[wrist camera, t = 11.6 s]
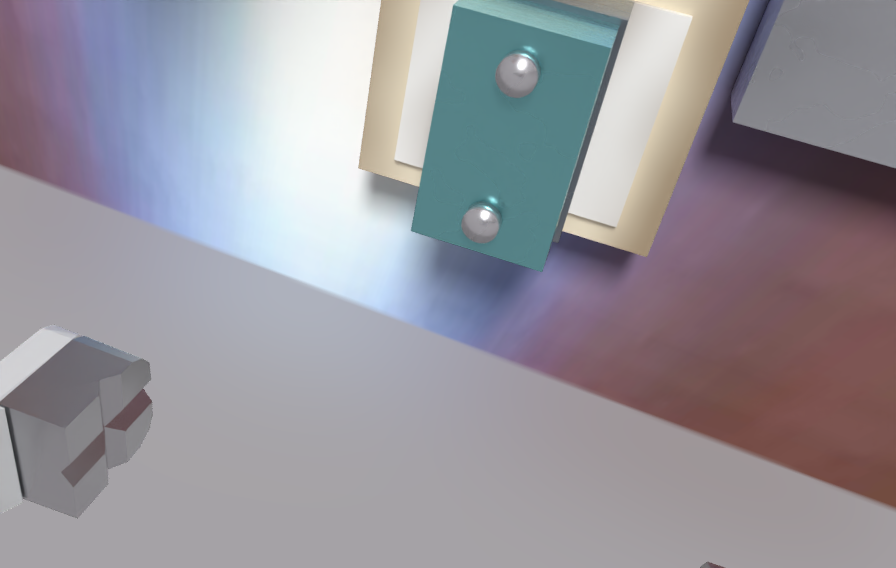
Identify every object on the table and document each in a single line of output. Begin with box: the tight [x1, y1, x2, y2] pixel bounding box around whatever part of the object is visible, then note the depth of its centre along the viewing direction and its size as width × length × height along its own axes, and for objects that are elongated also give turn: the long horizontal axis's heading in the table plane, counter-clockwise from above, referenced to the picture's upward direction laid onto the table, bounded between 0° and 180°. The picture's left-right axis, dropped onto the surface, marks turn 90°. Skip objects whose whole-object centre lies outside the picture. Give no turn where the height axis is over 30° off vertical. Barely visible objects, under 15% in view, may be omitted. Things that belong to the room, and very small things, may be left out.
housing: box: [411, 0, 635, 272], centre depth 26 cm, size 5×8×6 cm, turn 169°
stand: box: [358, 0, 749, 257], centre depth 30 cm, size 12×10×3 cm
